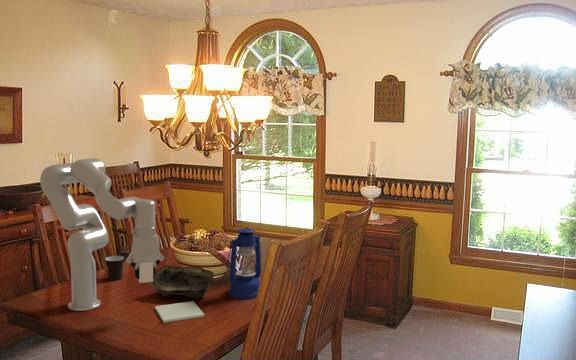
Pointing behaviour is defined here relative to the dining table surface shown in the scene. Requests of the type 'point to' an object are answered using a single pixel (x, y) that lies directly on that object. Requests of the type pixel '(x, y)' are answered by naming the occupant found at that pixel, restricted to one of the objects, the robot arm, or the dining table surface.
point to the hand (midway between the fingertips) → (145, 277)
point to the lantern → (244, 282)
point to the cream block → (145, 272)
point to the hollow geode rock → (183, 281)
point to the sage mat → (179, 311)
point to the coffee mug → (114, 267)
